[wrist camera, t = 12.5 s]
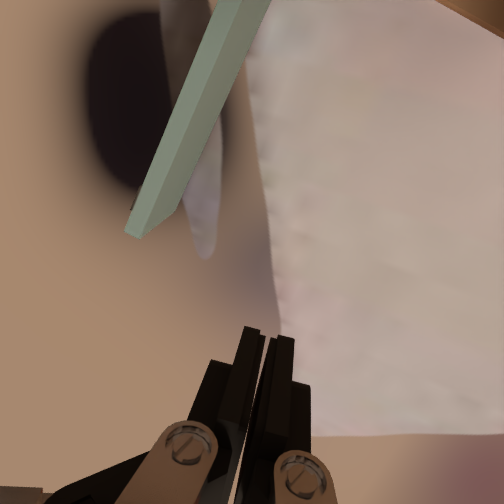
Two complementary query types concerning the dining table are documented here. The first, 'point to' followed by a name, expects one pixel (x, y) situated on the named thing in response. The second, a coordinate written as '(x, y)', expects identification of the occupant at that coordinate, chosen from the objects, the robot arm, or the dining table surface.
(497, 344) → the dining table surface
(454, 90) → the dining table surface
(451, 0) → the cabinet
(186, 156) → the sage green panel
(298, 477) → the robot arm
